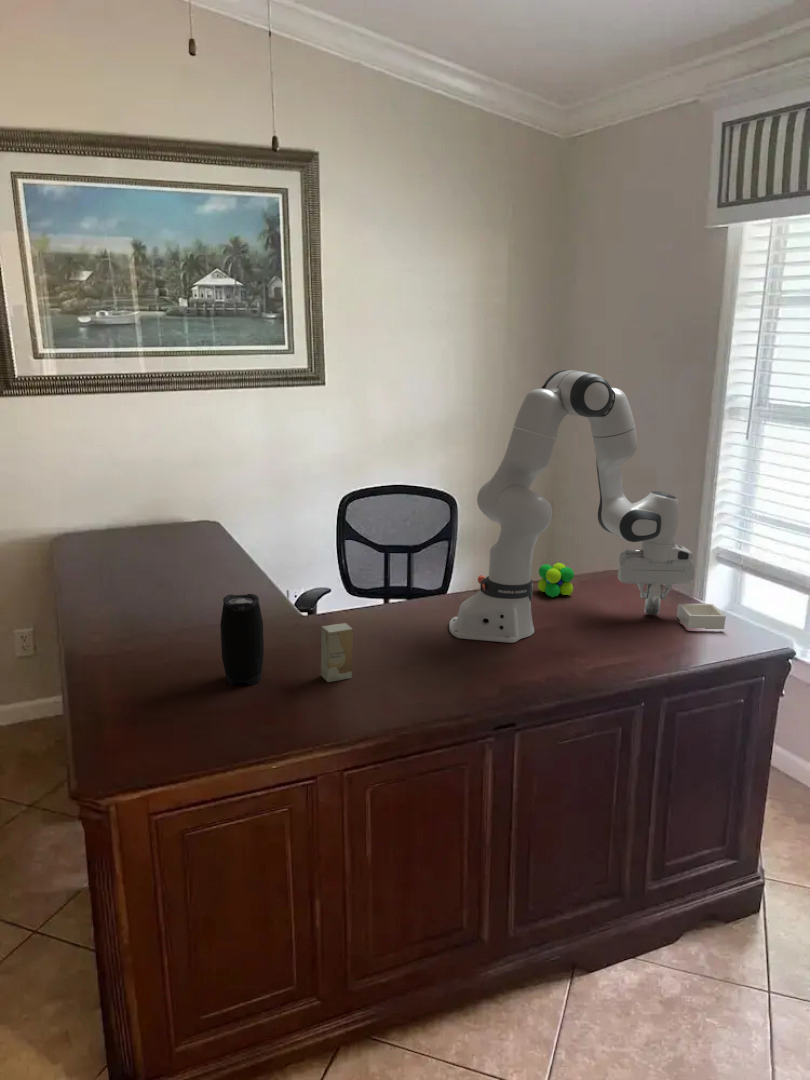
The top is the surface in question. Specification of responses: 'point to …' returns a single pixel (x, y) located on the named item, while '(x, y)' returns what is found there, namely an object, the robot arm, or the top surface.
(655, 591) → the cylinder
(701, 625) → the cream square tray
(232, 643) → the portable speaker
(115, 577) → the top surface
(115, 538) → the top surface
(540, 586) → the molecule model
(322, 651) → the skincare box
